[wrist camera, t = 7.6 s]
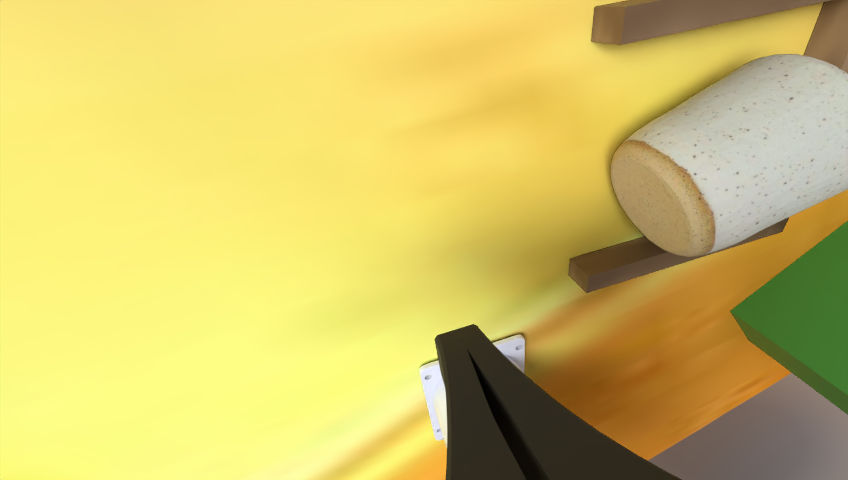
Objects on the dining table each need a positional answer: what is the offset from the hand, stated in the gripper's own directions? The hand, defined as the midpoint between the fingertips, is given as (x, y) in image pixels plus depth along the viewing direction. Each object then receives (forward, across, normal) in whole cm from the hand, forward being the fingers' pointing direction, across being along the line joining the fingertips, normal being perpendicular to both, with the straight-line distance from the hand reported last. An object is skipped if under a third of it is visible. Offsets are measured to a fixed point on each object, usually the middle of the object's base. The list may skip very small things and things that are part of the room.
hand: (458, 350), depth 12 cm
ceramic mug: (+10, -17, +1) cm, 20 cm away
